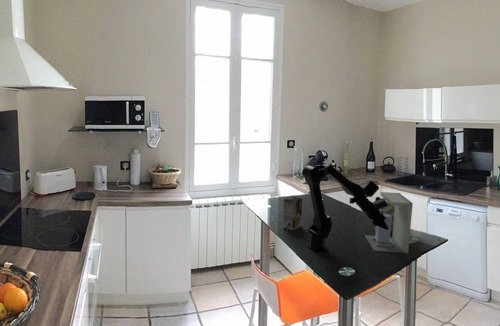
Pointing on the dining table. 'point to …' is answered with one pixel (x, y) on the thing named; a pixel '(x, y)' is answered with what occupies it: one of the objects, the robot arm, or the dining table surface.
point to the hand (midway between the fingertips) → (386, 227)
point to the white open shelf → (396, 225)
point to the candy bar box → (390, 211)
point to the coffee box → (292, 213)
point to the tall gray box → (384, 230)
